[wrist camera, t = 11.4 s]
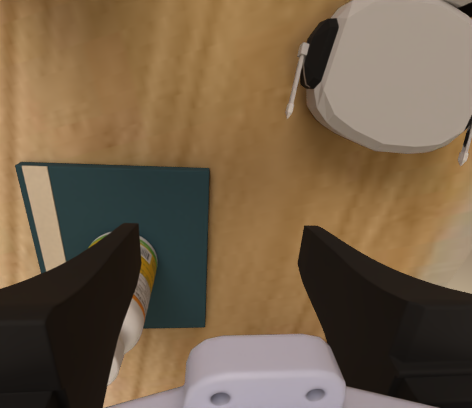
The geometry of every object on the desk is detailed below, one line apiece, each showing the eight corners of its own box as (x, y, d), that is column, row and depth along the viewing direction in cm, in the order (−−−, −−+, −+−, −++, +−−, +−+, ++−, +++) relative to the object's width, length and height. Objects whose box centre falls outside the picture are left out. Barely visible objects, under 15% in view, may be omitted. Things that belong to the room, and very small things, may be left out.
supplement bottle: (94, 287, 26) (36, 406, 17) (81, 229, 23) (6, 333, 15) (161, 284, 26) (138, 399, 17) (155, 227, 24) (125, 327, 15)
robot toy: (349, -163, 17) (268, 119, 22) (399, -245, 13) (285, 127, 17) (531, -78, 19) (421, 160, 24) (625, -124, 15) (468, 176, 20)
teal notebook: (205, 321, 29) (205, 328, 29) (58, 323, 28) (54, 331, 27) (209, 167, 23) (209, 171, 22) (20, 161, 22) (13, 165, 21)
